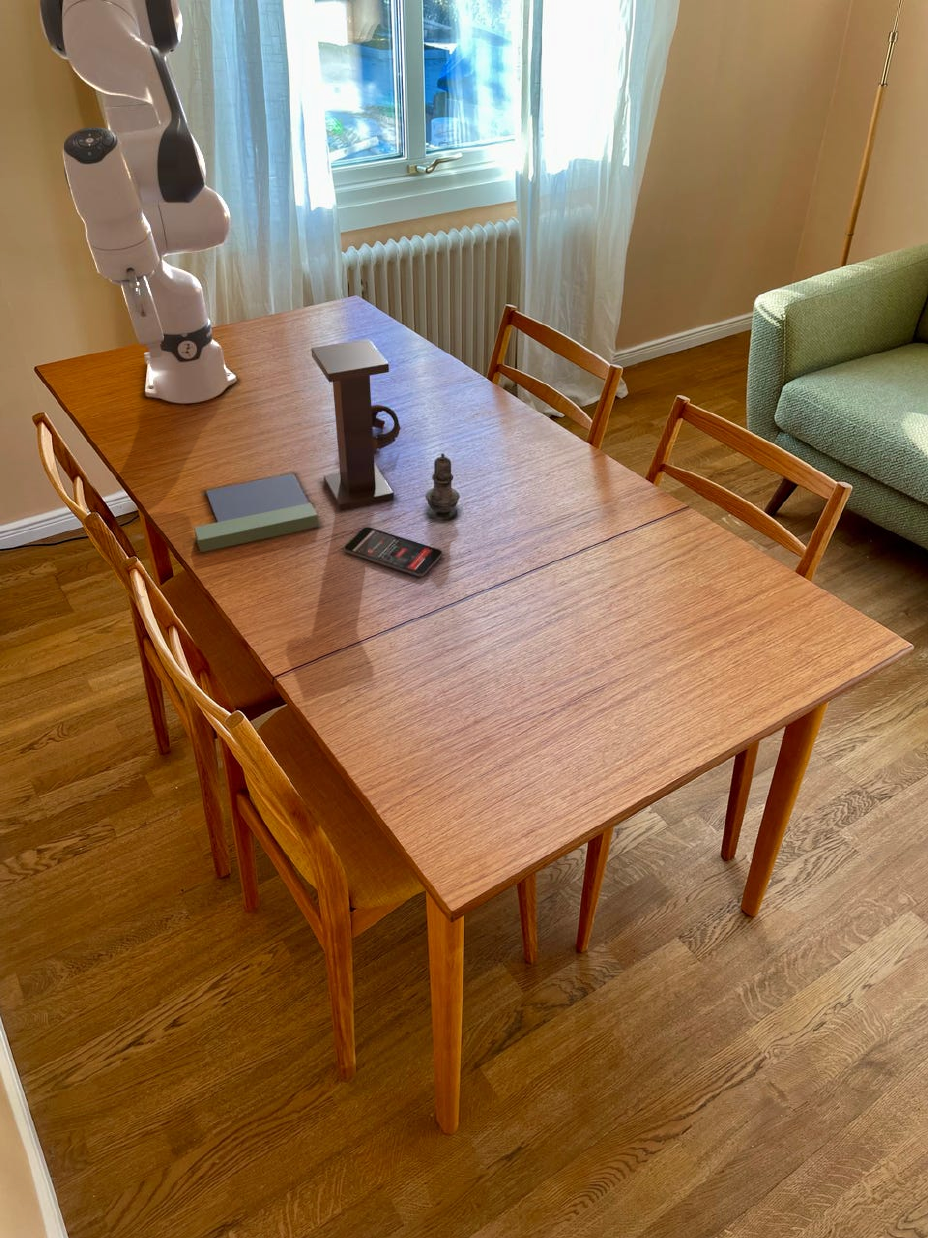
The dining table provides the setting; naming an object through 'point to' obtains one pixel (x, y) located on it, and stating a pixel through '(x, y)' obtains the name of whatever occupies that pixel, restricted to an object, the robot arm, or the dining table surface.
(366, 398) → the stand
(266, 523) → the bar
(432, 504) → the salt shaker
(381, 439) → the pottery mug
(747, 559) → the dining table surface
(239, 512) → the blue-grey flat rectangular plate
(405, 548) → the smartphone
